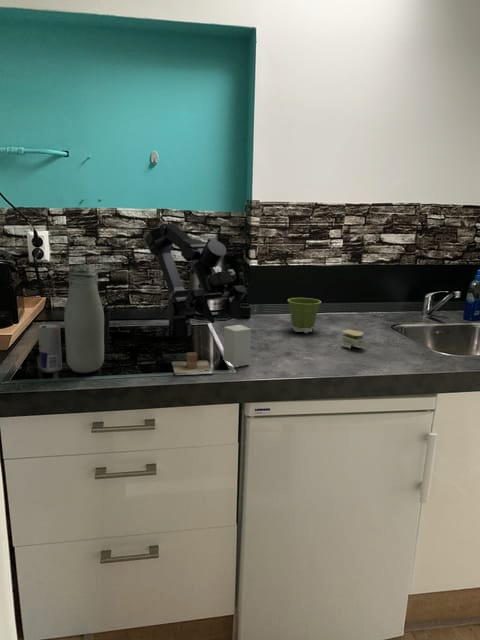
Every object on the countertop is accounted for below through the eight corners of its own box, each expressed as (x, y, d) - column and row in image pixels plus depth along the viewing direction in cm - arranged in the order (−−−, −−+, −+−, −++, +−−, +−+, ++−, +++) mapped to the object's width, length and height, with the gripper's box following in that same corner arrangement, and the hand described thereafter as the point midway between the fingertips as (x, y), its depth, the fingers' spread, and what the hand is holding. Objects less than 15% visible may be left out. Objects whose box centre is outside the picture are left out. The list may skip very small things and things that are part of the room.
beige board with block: (171, 364, 145) (171, 348, 144) (207, 363, 147) (207, 347, 146) (174, 376, 136) (175, 360, 135) (212, 374, 138) (213, 358, 137)
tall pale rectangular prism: (223, 362, 148) (224, 326, 145) (238, 360, 151) (239, 324, 149) (233, 368, 144) (234, 331, 141) (249, 365, 147) (250, 328, 144)
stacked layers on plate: (331, 348, 167) (332, 331, 166) (346, 343, 173) (347, 327, 172) (358, 355, 160) (360, 338, 159) (373, 349, 167) (374, 333, 166)
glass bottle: (70, 380, 131) (65, 269, 124) (63, 367, 140) (58, 263, 133) (109, 374, 135) (106, 268, 129) (100, 363, 144) (97, 262, 138)
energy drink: (43, 366, 140) (41, 323, 138) (64, 366, 141) (62, 323, 138) (38, 372, 135) (35, 328, 132) (59, 372, 136) (56, 328, 133)
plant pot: (324, 330, 187) (326, 300, 185) (310, 337, 178) (312, 305, 175) (295, 325, 193) (296, 296, 191) (280, 332, 184) (281, 300, 181)
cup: (116, 348, 158) (115, 310, 156) (102, 355, 151) (100, 315, 149) (94, 345, 161) (93, 307, 158) (79, 352, 154) (77, 312, 151)
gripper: (189, 261, 144) (210, 307, 138) (244, 258, 154) (265, 301, 148) (176, 285, 152) (195, 330, 146) (229, 281, 162) (248, 322, 156)
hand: (227, 320), depth 149 cm, fingers open, 9 cm apart
